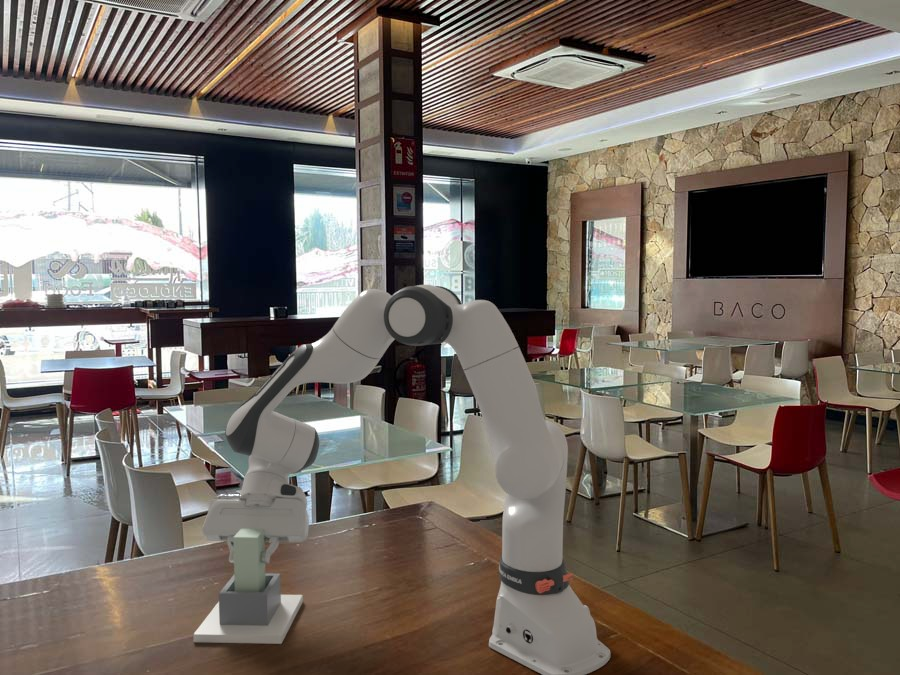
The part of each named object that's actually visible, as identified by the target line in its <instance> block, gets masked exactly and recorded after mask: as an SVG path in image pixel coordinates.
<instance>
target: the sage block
mask: <svg viewBox="0 0 900 675" xmlns="http://www.w3.org/2000/svg"><path fill="white" fill-rule="evenodd" d="M233 540H234V546H233V547H234V563H233V575H234V584H235V591H236V592H264V590H265V589H266V585H265V573H266V563H261V562H260V556H261V551H266V542H265V536H264V529H247V528H241V529H240V530H239V532H238V533H237V534H236V535H235V536H234V537H233Z"/></svg>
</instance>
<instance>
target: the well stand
mask: <svg viewBox="0 0 900 675" xmlns="http://www.w3.org/2000/svg"><path fill="white" fill-rule="evenodd" d="M265 585H266V589H265V590H264V592H236V591H235V584H234V574H233V575H232V576H231V577H230V579H229V580H228V581H227V583H225V585H224V586H223V588H221V590H220V591H219V593H218V602H216V604H215V606H214V607H213V608H212V609H211V611H210V612H209V613H208V615H207V616H206V617H205V619H203V621H202V623H201V624H200V625H199V626H198V628H197V629H196V630H195V631H194V633H193V637H192V638H193V643H213V644H214V643H215V644H216V643H217V644H219V643H222V644H226V643H227V644H267V645H268V644H275V645H276V644H279V645H281V644H282V643H283V641H284V639H285V638H286V636H287V633H288V632H289V630H290V628H291V626H292V624H293V622H294V620H295V618H296V616H297V614H298V612H299V611H300V609H301V606H302V605H303V602H304V601H303V600H304V598H303V597H304V596H303V594H281V593H282V592H281V590H282V588H281V586H282V585H281V573H276V572H275V573H274V572H273V573H271V572H270V573H266V572H265Z"/></svg>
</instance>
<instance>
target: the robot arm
mask: <svg viewBox="0 0 900 675" xmlns="http://www.w3.org/2000/svg"><path fill="white" fill-rule="evenodd" d="M515 337H516V336H515V335H514V333H513V332H512V329H511V327H510V325H509V324H508V323H507V321H506V319H505V318H504V316H503V314H502V313H501V311H500V310H499V309H498V307H497V306H496V305H495V304H494V303H493V302H491V301H489V300H486V299H474V300H471V301H467V302H465V303H462V301H461V299H460V298H459V296H458V295H457V294H456V293H455V292H454V291H452V290H451V289H449V288H447V287H444V286H439V285H431V284H419V285H418V284H417V285H412V286H410V285H409V286H406V287H403V288H401V289H399V290H398V291H396V292H394V293H393V294H392V295H391V294H390V293H389V292H387V291H385V290H382V289H378V288H367V289H365V290H362V291H361V293H359V294H358V295H357V296H356V297H355V298H354V299H353V300H352V302H350V304H349V305H347V307H346V309H345V310H343V312H342V313H341V315H340V316H339V317H338V319H337V320H336V322H335V323H334V324H333V326H332V327H331V329H330V330H329V331H328V332H327V333H326V334H325V335H324V336H322V337H321V338H319V339H318V340H316V341H315V342H312V343H306V344H301V345H300V346H299V347H298V348H296V349H295V350H294V351H293V352H291V353H290V355H288V356H287V358H286V359H285V360H284V361H283V362H282V363H281V364H280V365H279V366H278V367H277V368H276V369H275V371H273V373H272V374H271V375H270V376H269V377H268V378H267V380H265V382H263V384H261V385H260V387H259V388H258V389H257V390H256V391H255V392H254V393H253V394H252V396H250V398H248V399H247V400H245V402H243V403H242V404H241V405H239V407H238V408H237V409H235V411H234V412H233V413H232V415H231V416H230V418H229V420H228V422H227V425H226V427H225V431H224V435H225V438H226V441H227V443H228V445H229V447H230V448H231V450H232V451H233V452H234V453H237V454H241V455H246V456H248V469H247V470H246V473H245V475H244V478H243V480H242V486H241V491H240V493H239V494H219V495H218V496H214V498H212V499H211V500H210V502H209V505H208V511H207V514H206V517H205V520H204V522H203V525H202V528H201V532H202V534H203V536H204V537H205V539H206V540H207V541H210V542H226V544H227V547H228V550H229V556H228V561H229V563H232V564H234V540H233V537H234V536H235V535H236V534H237V533H238V532H239V530H240V529H241V528H247V529H264V536H265V543H266V542H267V543H269V546H268V547H267V548H266V549H265V551H261V556H260V562H261V563H265V564H270V561H271V556H272V555H273V554H274V553H275V551H276V550H277V549H278V547H279V544H280V543H303V542H305V541H306V540H307V539H308V535H309V528H310V527H309V526H310V525H309V524H310V522H309V521H310V518H309V513H308V509H307V506H308V499H307V496H306V494H305V492H304V490H303V488H301V486H297V485H294V484H291V483H288V478H289V476H290V475H291V474H292V475H293V474H296V473H299V472H301V471H303V470H306V469H307V468H310V467H311V466H312V465H313V464H314V463H315V461H316V459H317V456H318V453H319V449H320V448H319V447H320V437H319V434H318V431H317V429H316V428H315V427H313V426H311V425H310V424H307V423H305V422H303V421H301V420H298V419H295V418H292V417H290V416H287V415H284V414H282V413H279V412H277V411H274V410H275V408H277V407H278V406H279V405H280V404H281V403H282V401H284V399H286V397H287V396H288V394H289V393H291V392H292V390H294V389H295V388H296V387H298V386H300V385H304V384H309V383H311V384H312V383H329V384H337V385H338V384H339V385H345V384H352V383H355V382H359V381H363V380H364V379H366V377H367V376H368V375H370V374H371V372H372V371H373V370H374V369H375V367H376V366H377V365H378V363H379V362H380V360H381V358H383V356H384V354H385V353H386V351H387V349H389V346H391V344H392V343H393V342H394V341H397V342H398V343H401V344H404V345H405V346H414V347H421V346H428V345H438V344H443V343H446V344H447V345H449V346H450V347H451V348H452V349H453V350H454V352H455V354H456V356H457V358H458V360H459V363H460V365H461V368H462V369H463V373H464V375H465V377H466V380H467V382H468V384H469V387H470V389H471V391H472V394H473V396H474V399H475V401H476V403H477V406H478V408H479V411H480V413H481V418H482V421H483V425H484V429H485V434H486V437H487V441H488V444H489V448H490V452H491V454H492V459H493V463H494V471H495V478H496V481H497V483H498V484H499V487H500V488H501V489H502V490H503V491H504V492H505V501H504V506H503V514H502V527H501V528H502V530H501V534H502V536H501V538H502V542H501V545H502V548H501V552H502V553H501V554H502V555H500V559H499V564H498V571H499V573H498V574H499V576H498V577H499V579H500V586H499V591H498V593H497V597H496V602H495V611H494V619H493V620H494V621H493V626H492V629H491V630H492V631H491V632H492V634H491V636H490V637H489V641H488V647H489V648H490V649H492V650H494V651H496V652H498V653H500V654H501V655H504V656H506V657H507V658H509V659H512V660H513V661H515V662H517V663H519V664H521V665H523V666H525V667H526V668H529V669H530V670H533V671H534V672H537V673H539V674H541V675H587V674H590V673H592V672H594V671H596V670H599V669H600V668H602V667H603V666H605V665H606V664H607V663H608V661H610V659H611V657H612V656H611V653H612V652H611V650H610V649H609V647H607V646H606V645H605V644H604V643H603V642H601V641H600V640H599V639H598V636H597V628H596V623H595V620H594V618H593V616H592V615H591V611H590V608H589V606H587V605H585V604H583V603H582V601H581V600H580V598H579V597H578V596H577V594H576V593H575V591H573V589H572V587H571V586H570V581H571V580H573V579H574V578H573V577H572V576H573V575H574V573H573V572H570V573H568V571H567V566H566V563H565V560H564V558H563V553H564V552H563V551H564V550H563V548H564V547H563V544H564V542H563V541H564V540H563V539H564V515H565V514H564V512H565V502H566V491H567V490H566V489H567V475H568V474H567V473H568V457H569V456H568V455H569V447H568V441H567V437H566V434H565V433H564V431H563V430H562V429H561V428H560V427H559V426H558V425H557V424H556V423H554V422H552V421H550V420H548V419H547V420H546V419H545V417H544V413H543V410H542V406H541V403H540V398H539V394H538V389H537V386H536V382H535V381H534V378H533V376H532V373H531V371H530V369H529V367H528V364H527V362H526V358H525V357H524V355H523V353H522V351H521V348H520V346H519V344H518V341H517V340H516V338H515Z"/></svg>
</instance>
